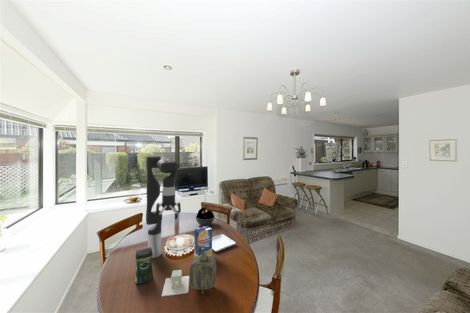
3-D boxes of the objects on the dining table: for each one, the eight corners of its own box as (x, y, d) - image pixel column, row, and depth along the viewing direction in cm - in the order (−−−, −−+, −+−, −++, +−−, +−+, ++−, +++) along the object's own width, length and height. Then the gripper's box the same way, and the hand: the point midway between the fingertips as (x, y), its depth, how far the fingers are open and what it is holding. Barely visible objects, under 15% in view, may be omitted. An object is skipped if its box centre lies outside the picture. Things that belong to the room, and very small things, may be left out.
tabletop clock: (216, 285, 106) (216, 242, 106) (215, 297, 97) (215, 251, 97) (191, 285, 105) (192, 243, 105) (188, 297, 96) (188, 251, 96)
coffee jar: (151, 273, 116) (152, 244, 115) (153, 280, 109) (153, 250, 109) (134, 278, 110) (134, 248, 110) (135, 286, 104) (135, 254, 104)
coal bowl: (194, 223, 201) (195, 206, 200) (212, 221, 207) (212, 205, 206) (196, 230, 182) (196, 211, 181) (216, 228, 188) (216, 210, 187)
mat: (165, 279, 110) (165, 278, 110) (189, 276, 113) (189, 275, 113) (161, 296, 97) (161, 296, 97) (188, 293, 99) (188, 292, 99)
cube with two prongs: (172, 282, 107) (172, 270, 107) (181, 281, 108) (181, 269, 108) (171, 289, 102) (171, 276, 102) (180, 287, 103) (181, 275, 103)
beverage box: (211, 258, 133) (212, 228, 133) (198, 263, 126) (198, 232, 126) (207, 253, 139) (207, 225, 138) (194, 259, 132) (194, 229, 132)
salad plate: (215, 255, 138) (215, 250, 138) (201, 244, 155) (202, 240, 155) (236, 246, 152) (236, 242, 152) (222, 237, 168) (222, 233, 168)
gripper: (181, 192, 116) (181, 217, 116) (157, 192, 113) (157, 218, 113) (180, 194, 109) (179, 221, 109) (155, 195, 106) (154, 222, 106)
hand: (168, 219), depth 111 cm, fingers open, 8 cm apart
